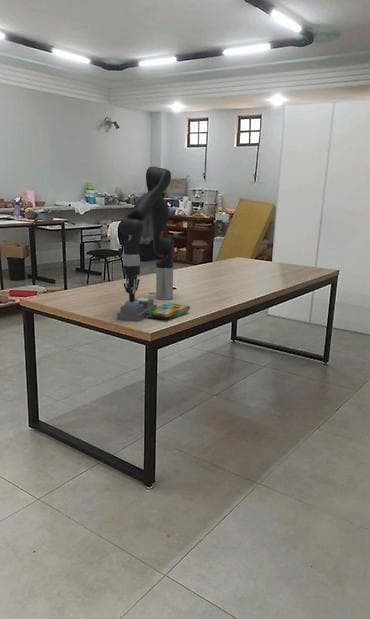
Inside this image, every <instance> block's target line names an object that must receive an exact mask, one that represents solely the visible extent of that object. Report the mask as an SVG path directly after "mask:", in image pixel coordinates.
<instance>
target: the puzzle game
mask: <svg viewBox="0 0 370 619" xmlns="http://www.w3.org/2000/svg"><path fill="white" fill-rule="evenodd" d="M190 309H191V306H189V305H186V304H180V303H175V302H174V303H173V302H167V303H165V304H162V305H157V307H155V308H152V309H149V310H146V311H145V313H146V314H151V315H150V316H151V317H153V318H158V319H162V320H168V321H169V320H172V319H174V318H178V317H180V316H183V315H185V314H187V313H188V312H189V311H190Z"/></svg>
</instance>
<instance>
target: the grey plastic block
mask: <svg viewBox="0 0 370 619" xmlns="http://www.w3.org/2000/svg"><path fill="white" fill-rule="evenodd" d="M139 298H140V297H137V298H136V297H135V301H136V300H137V299H139ZM146 298H147V297H146ZM147 299H150V300H148V301H146V302H145V301H139V306H138V307H136V308H133V307H125V304H123V305H120V309H119V310H120V311H118V312H117V313H116V320H117V321H128V322H138V323H140V322H141V321H143V320H145V319H146V318H148V317H149V316H152V315H151V314H146V313H145V311H146V310H149V309H152V308H155V307H158V305H157V304H154V298H149V297H148V298H147Z"/></svg>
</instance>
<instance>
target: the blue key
mask: <svg viewBox="0 0 370 619" xmlns="http://www.w3.org/2000/svg"><path fill="white" fill-rule="evenodd" d="M124 305H125V307H133V308H136V307H138V306H139V301H133V302H130V301H129V300H126V301H125V302H124Z"/></svg>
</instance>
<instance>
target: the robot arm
mask: <svg viewBox="0 0 370 619" xmlns="http://www.w3.org/2000/svg"><path fill="white" fill-rule="evenodd" d="M145 180H146V181H145V183H146V188H147V189H146V190H147V193H145V194H144V195H142V196H140V197H139V198H138V199H137V201H136V202H135V203H134V206H133V208H132V209H131V210H130V211H129V212H128V213H127V214H126V215H125V216H124V217H122V219H121V220H120V222H119V232H120V233H121V234H123V235H126V236H131V238H130V239H129V240H125V241H124V242H123V257H122V258H123V259H122V264H123V265H122V267H123V268H122V269H123V270H122V271H123V272H122V273H123V275H125V276H126V277H125V282H124V283H123V287H124V289H125V292H126V294H128V301H130V302H133V301H135V299H136V292H137V291H138V288H139V285H140V279H138V275H140V274H141V257H140V243H141V239H142V236H143V235H142V234H143V232H144V225H143V223H142V222H143V221H144V220H145V219H146V218H147V216H148V214H149V213H150V219H151V225H152V226H151V227H152V236H153V237H152V239H153V240H152V241H153V251H154V254H155V255H162V256H164V255H166V257H165V258H164V259H161V260H157V262H156V263H155V271H156V272H155V277H156V278H155V280H156V282H155V285H156V286H155V292H156V293H155V298H156V299H158V300H163V301H164V300H165V301H166V300H172V299H173V298H174V252H175V241H174V238H173V237H161V234H162V232H163V230H164V229H165V228H166V227H167V225H168V224H169V221H170V211H169V210H170V209H169V205H168V204H167V202H166V201H165V199H164V197H163V196H162V195H163V194H164V192H165V191H166V190H167V189H168V187H169V186H170V183H171V180H172V173H171V171H170V170H169V169H167V168H162V167H159V166H149V167H148V168H147V169H146V173H145Z"/></svg>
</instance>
